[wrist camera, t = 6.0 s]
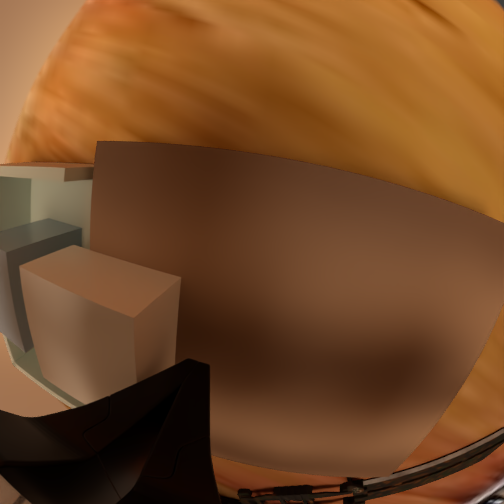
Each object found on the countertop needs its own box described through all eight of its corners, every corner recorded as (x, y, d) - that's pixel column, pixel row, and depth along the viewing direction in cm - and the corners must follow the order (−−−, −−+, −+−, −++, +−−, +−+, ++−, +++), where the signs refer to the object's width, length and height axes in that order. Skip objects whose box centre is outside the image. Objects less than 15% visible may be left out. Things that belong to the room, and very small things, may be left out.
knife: (521, 412, 11) (527, 421, 10) (498, 452, 13) (502, 461, 11) (232, 475, 17) (228, 488, 16) (250, 504, 18) (248, 515, 17)
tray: (128, 383, 15) (95, 422, 12) (46, 339, 16) (12, 364, 13) (126, 166, 12) (64, 168, 8) (33, 161, 13) (-17, 166, 9)
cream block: (174, 384, 11) (143, 433, 8) (82, 344, 11) (43, 377, 8) (181, 277, 9) (133, 318, 6) (74, 244, 10) (19, 265, 7)
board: (383, 440, 13) (389, 476, 10) (136, 386, 15) (112, 416, 12) (485, 219, 9) (525, 232, 6) (139, 145, 11) (97, 141, 8)
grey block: (25, 352, 9) (-4, 328, 10) (84, 311, 14) (52, 295, 14) (6, 252, 8) (-20, 237, 8) (81, 227, 13) (48, 218, 13)
